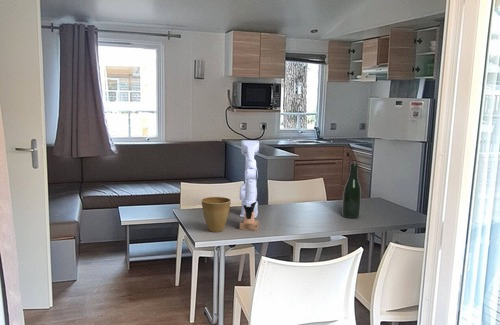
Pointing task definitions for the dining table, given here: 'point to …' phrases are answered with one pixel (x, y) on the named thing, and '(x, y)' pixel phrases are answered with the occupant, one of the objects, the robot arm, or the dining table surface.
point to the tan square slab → (249, 225)
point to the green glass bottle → (352, 194)
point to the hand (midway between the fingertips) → (249, 216)
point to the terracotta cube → (249, 219)
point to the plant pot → (216, 212)
